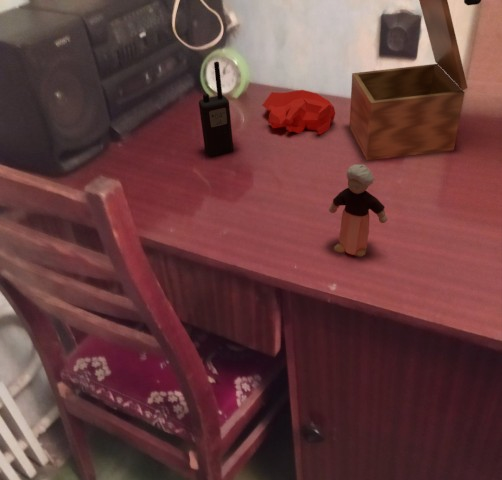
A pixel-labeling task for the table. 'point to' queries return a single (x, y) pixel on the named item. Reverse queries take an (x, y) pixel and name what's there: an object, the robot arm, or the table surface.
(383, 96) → the chest
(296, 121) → the crumpled red cloth
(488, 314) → the table surface
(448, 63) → the lid
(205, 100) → the walkie-talkie
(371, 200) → the grandmother figurine
